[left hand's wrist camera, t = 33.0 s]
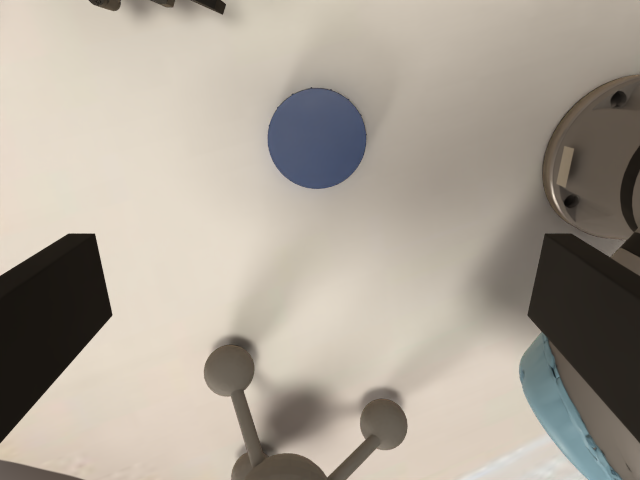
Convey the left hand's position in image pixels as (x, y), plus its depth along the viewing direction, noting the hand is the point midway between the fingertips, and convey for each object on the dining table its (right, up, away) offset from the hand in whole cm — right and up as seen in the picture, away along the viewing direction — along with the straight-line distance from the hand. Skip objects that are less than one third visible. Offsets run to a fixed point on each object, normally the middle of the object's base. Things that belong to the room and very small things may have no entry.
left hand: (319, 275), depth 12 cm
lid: (0, +10, +26) cm, 28 cm away
